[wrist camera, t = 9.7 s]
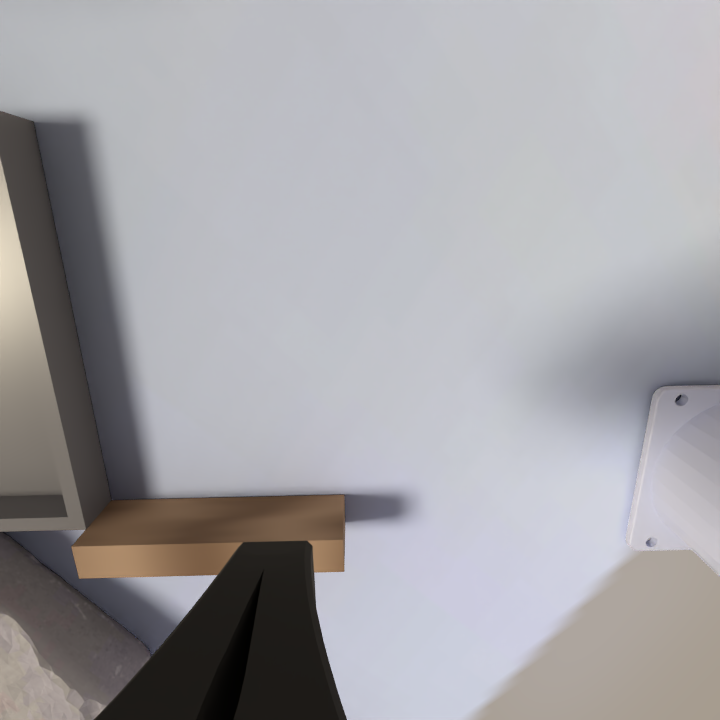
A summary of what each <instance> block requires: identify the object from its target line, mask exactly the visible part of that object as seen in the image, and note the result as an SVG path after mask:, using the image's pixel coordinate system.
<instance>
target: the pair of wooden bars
mask: <svg viewBox="0 0 720 720" xmlns="http://www.w3.org/2000/svg"><path fill="white" fill-rule="evenodd" d="M268 541H308V542H309V543H310V544H311V545H312V546H313V563H314V572H344V556H345V500H344V495H310V496H268V497H226V498H184V499H142V500H111V501H110V502H109V504H108V505H107V506H106V507H105V508H104V509H103V510H102V512H101V513H100V514H99V515H98V516H97V517H96V519H95V520H94V521H93V522H92V523H91V524H90V526H89V527H88V528H87V529H86V530H85V531H84V533H83V534H82V535H81V536H80V537H79V538H78V539H77V541H76V542H75V543H74V544H73V545H72V546H71V548H72V552H73V556H74V560H75V564H76V568H77V572H78V576H79V579H82V578H120V577H158V576H196V575H218V574H219V573H220V571H221V570H222V569H223V567H224V566H225V565H226V563H227V562H228V560H229V559H230V558H231V556H232V555H233V554H234V552H235V551H236V550H237V548H238V547H239V546H240V545H241V544H242V543H243V542H268Z"/></svg>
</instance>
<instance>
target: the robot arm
mask: <svg viewBox="0 0 720 720" xmlns="http://www.w3.org/2000/svg"><path fill="white" fill-rule="evenodd" d="M679 395H681V398H680V400H679V401H677V402H675V400H676V398H677V397H678V396H679ZM649 538H651V539H650V540H648V539H649ZM647 540H648V541H647ZM626 543H627V544H628V545H629V547H630V548H631V549H633V550H635V551H653V550H654V551H656V550H657V551H658V550H692V551H694V552H695V553H696V554H697V555H698V556H699V557H700V558H701V559H702V560H703V561H704V562H705V563H706V564H707V565H708V566H709V567H710V568H711V569H712V570H713V571H714V572H715V573H716V574H717V575H718V576H720V385H694V386H664V387H661V388H659V389H657V390H656V391H655V392H654V394H653V397H652V401H651V406H650V411H649V417H648V422H647V427H646V432H645V438H644V443H643V448H642V453H641V459H640V464H639V469H638V474H637V480H636V485H635V490H634V496H633V501H632V506H631V511H630V517H629V522H628V527H627V532H626ZM94 720H347V719H346V716H345V713H344V710H343V707H342V704H341V701H340V697H339V694H338V691H337V688H336V684H335V681H334V678H333V674H332V671H331V667H330V664H329V661H328V657H327V653H326V649H325V645H324V642H323V637H322V633H321V628H320V624H319V619H318V615H317V610H316V599H315V581H314V563H313V546H312V545H311V544H310V543H309V542H308V541H268V542H243V543H242V544H241V545H240V546H239V547H238V548H237V550H236V551H235V552H234V554H233V555H232V556H231V558H230V559H229V560H228V562H227V563H226V565H225V566H224V567H223V569H222V570H221V571H220V573H219V574H218V575H217V577H216V578H215V579H214V581H213V582H212V583H211V584H210V586H209V587H208V588H207V590H206V591H205V592H204V594H203V595H202V596H201V597H200V599H199V600H198V601H197V602H196V604H195V605H194V606H193V607H192V609H191V610H190V611H189V612H188V614H187V615H186V616H185V617H184V618H183V620H182V621H181V622H180V623H179V625H178V626H177V627H176V628H175V630H174V631H173V632H172V633H171V634H170V636H169V637H168V638H167V639H166V640H165V642H164V643H163V644H162V645H161V646H160V647H159V649H158V650H157V651H156V652H155V653H154V654H153V655H152V656H151V658H150V659H149V660H148V661H147V662H146V663H145V664H144V665H143V667H142V668H141V669H140V670H139V671H138V672H137V673H136V674H135V676H134V677H133V678H132V679H131V680H130V681H129V682H128V683H127V685H126V686H125V687H124V688H123V689H122V690H121V691H120V692H119V693H118V695H117V696H116V697H115V698H114V699H113V700H112V701H111V702H110V703H109V704H108V705H107V706H106V707H105V708H104V709H103V710H102V711H101V713H100V714H99V715H98V716H97V717H96V718H95V719H94Z"/></svg>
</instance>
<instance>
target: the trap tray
mask: <svg viewBox="0 0 720 720" xmlns="http://www.w3.org/2000/svg"><path fill="white" fill-rule="evenodd" d="M110 501H111V496H110V491H109V486H108V482H107V477H106V472H105V467H104V462H103V457H102V452H101V448H100V443H99V438H98V433H97V428H96V423H95V418H94V414H93V409H92V404H91V399H90V394H89V389H88V384H87V380H86V375H85V370H84V365H83V360H82V355H81V350H80V346H79V341H78V336H77V331H76V326H75V321H74V316H73V312H72V307H71V302H70V297H69V292H68V287H67V283H66V278H65V273H64V268H63V263H62V258H61V253H60V249H59V244H58V239H57V234H56V229H55V224H54V219H53V215H52V210H51V205H50V200H49V195H48V190H47V185H46V181H45V176H44V171H43V166H42V161H41V156H40V151H39V147H38V142H37V137H36V132H35V127H34V122H33V121H30V120H27V119H23V118H20V117H17V116H14V115H11V114H8V113H4V112H1V111H0V532H8V531H49V530H86V529H87V528H88V527H89V526H90V524H91V523H92V522H93V521H94V520H95V519H96V517H97V516H98V515H99V514H100V513H101V512H102V510H103V509H104V508H105V507H106V506H107V505H108V504H109V502H110Z"/></svg>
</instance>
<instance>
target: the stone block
mask: <svg viewBox="0 0 720 720" xmlns="http://www.w3.org/2000/svg"><path fill="white" fill-rule="evenodd" d="M149 659H150V651H149V650H148V649H147V647H146V646H145V645H144V644H143V643H142V642H141V641H140V640H139V639H137V638H136V637H135V636H133V635H132V634H131V633H130V632H128V631H127V630H126V629H125V628H124V627H122V626H121V625H120V624H119V623H117V622H116V621H115V620H113V619H112V618H111V617H110V616H108V615H107V614H106V613H105V612H103V611H102V610H101V609H100V608H98V607H97V606H96V605H95V604H93V603H92V602H91V601H89V600H88V599H87V598H86V597H84V596H83V595H82V594H81V593H79V592H78V591H77V590H76V589H74V588H73V587H72V586H71V585H69V584H68V583H67V582H65V581H64V580H63V579H62V578H61V577H60V576H59V575H57V574H55V573H54V572H52V571H51V570H49V569H48V568H47V567H45V566H44V565H43V564H41V563H40V562H39V561H38V560H37V559H36V558H35V557H34V556H33V555H32V554H31V553H30V552H28V551H27V550H26V549H24V548H23V547H22V546H21V545H19V544H18V543H17V542H16V541H14V540H13V539H12V538H11V537H10V536H8V535H6V534H5V533H3V532H0V720H94V719H95V718H96V717H97V716H98V715H99V714H100V713H101V711H102V710H103V709H104V708H105V707H106V706H107V705H108V704H109V703H110V702H111V701H112V700H113V699H114V698H115V697H116V696H117V695H118V693H119V692H120V691H121V690H122V689H123V688H124V687H125V686H126V685H127V683H128V682H129V681H130V680H131V679H132V678H133V677H134V676H135V674H136V673H137V672H138V671H139V670H140V669H141V668H142V667H143V665H144V664H145V663H146V662H147V661H148V660H149Z"/></svg>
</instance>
